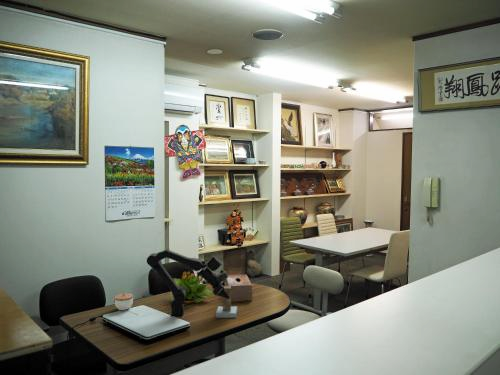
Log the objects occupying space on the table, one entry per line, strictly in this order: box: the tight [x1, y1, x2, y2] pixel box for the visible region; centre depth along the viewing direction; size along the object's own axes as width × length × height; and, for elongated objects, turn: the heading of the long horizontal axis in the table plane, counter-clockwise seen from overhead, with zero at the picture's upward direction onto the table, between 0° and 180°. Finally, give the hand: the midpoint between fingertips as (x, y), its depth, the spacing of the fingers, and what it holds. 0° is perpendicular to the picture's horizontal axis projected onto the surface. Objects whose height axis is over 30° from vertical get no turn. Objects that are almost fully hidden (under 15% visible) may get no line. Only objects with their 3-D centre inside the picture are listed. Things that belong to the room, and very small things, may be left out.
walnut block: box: [222, 286, 232, 311], centre depth 231 cm, size 4×4×13 cm
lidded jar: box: [114, 292, 134, 311], centre depth 240 cm, size 11×11×9 cm
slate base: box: [215, 305, 238, 319], centre depth 231 cm, size 11×11×2 cm
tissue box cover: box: [225, 274, 253, 302], centre depth 267 cm, size 26×14×10 cm, turn 8°
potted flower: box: [171, 271, 213, 304], centre depth 255 cm, size 25×24×18 cm
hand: (229, 295), depth 231 cm, fingers open, 9 cm apart
